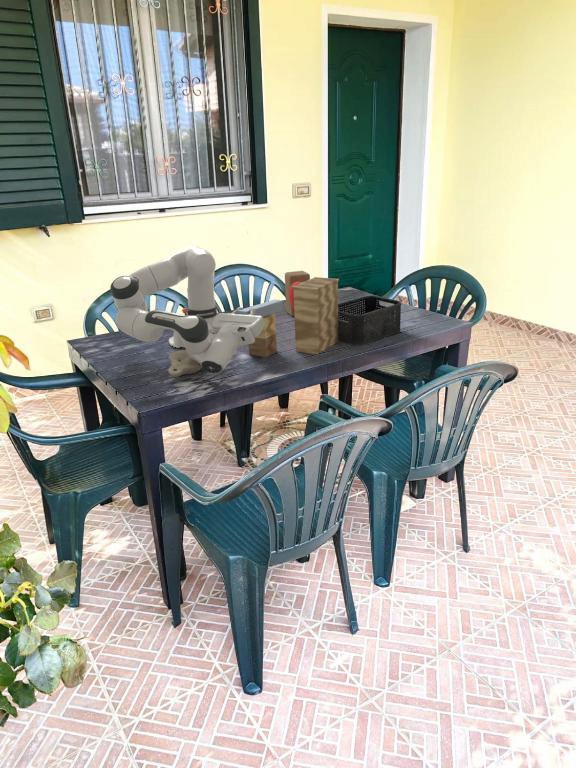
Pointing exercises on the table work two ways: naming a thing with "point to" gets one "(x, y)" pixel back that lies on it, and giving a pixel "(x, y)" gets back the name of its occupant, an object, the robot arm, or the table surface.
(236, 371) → the table surface
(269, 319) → the block
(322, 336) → the oak stand
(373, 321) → the storage bin
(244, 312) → the blue bar
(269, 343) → the walnut block
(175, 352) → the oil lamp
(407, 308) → the table surface
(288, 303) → the block
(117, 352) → the table surface
